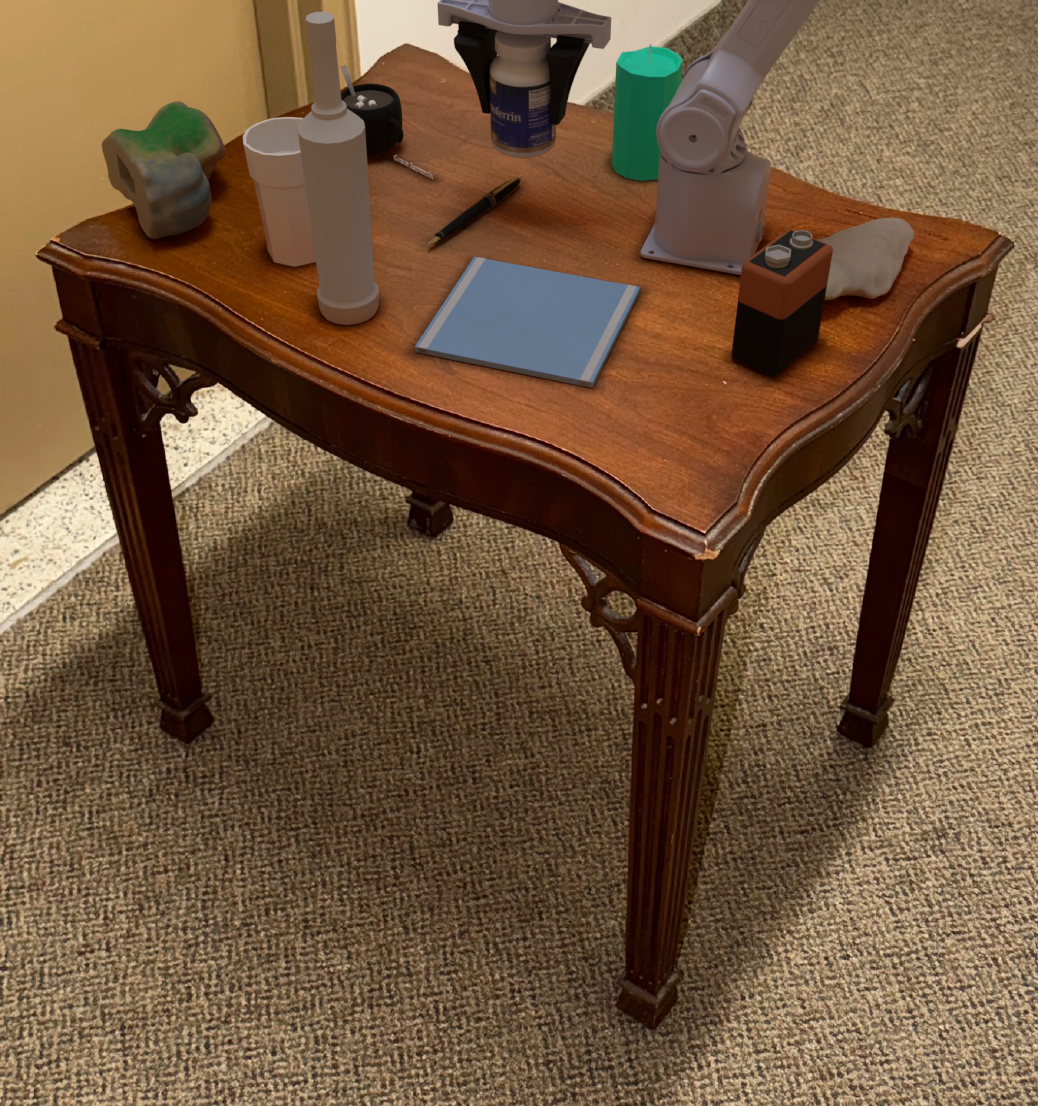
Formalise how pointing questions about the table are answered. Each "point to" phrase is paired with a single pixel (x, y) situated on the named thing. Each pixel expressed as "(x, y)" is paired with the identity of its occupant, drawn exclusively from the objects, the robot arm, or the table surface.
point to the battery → (781, 301)
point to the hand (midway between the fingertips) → (524, 113)
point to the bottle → (337, 187)
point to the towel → (530, 321)
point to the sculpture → (166, 168)
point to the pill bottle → (521, 96)
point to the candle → (642, 108)
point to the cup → (280, 189)
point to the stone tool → (867, 257)
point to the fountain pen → (477, 209)
